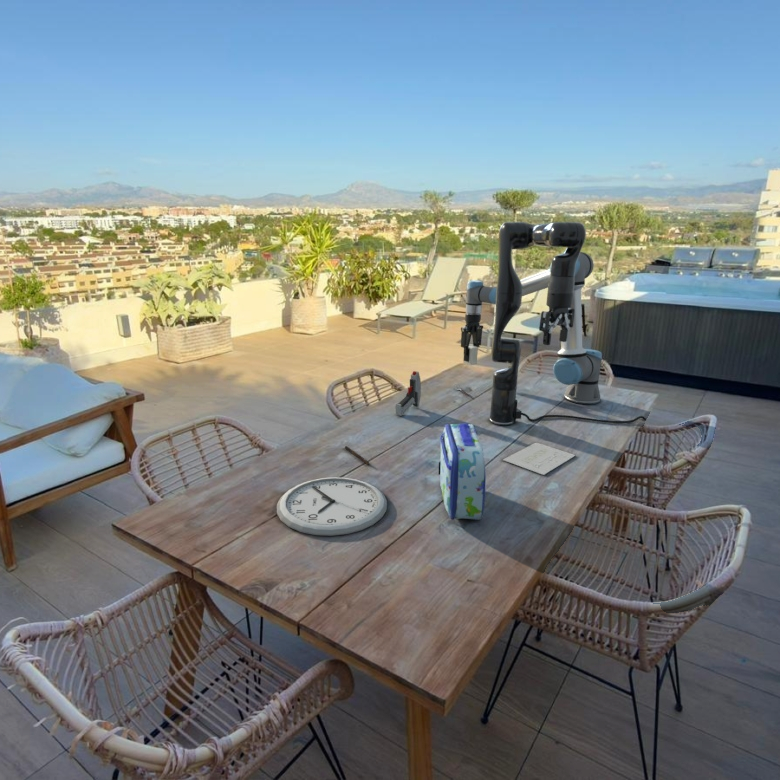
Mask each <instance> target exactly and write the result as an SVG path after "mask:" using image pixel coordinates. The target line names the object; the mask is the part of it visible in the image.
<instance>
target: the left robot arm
mask: <svg viewBox="0 0 780 780" xmlns="http://www.w3.org/2000/svg"><path fill="white" fill-rule="evenodd" d="M586 237H587V231H586V227H585V225H584V224H583V223H581V222H578V221H577V222H576V221H575V222H574V221H556V222H547V223H540V224H537V225H535V224H532V223H529V222H525V221H508V222H503V223H502V225H501V226H500V228H499V230H498V242H497V243H498V245H497V246H498V266H497V267H498V269H497V283H496V287H497V291H496V305H495V310H494V311H495V313H494V325H493V335H492V339H491V340H492V341H491V348H490V350H491V351H490V356H491V357H490V358H491V361H492V362H494V363H499V364H509V365H508V366H507V367H504V368H501V369H497V370H495V371H494V372H493V374H492V388H491V399H490V410H489V411H490V413H489V414H490V415H489V422H490V423H491V424H494V425H497V426H511V425H513V424H516V423H517V420H521V419H522V416H523V417H525V418H526V419H527V420H528V421H529V422H537V421H539V420H542V419H544V418H567V419H575V420H583V421H590V422H591V421H592V422H597V423H607V424H630V423H634V422H636V421H638V420H640V419H643V420H644V421H647V418H646V417H645V416H643V415H639V416H637V417H635V418H633V419H629V420H607V419H598V418H592V417H591V418H590V417H583V416H575V415H567V414H566V415H565V414H545V415H540V416H539V417H537V418H534V419H533V418H531V417H530V416H529V415H528V414H527V413H524V412H522V410H521V409H519V408H518V399H517V388H518V377H519V376H518V375H519V366H520V359H521V353H522V352H521V351H522V343H521V341H520V340H519V339H515V338H502V335H503V333H504V331H505V329H506V327H507V325H508V324H509V323H510V322H511V320H512V319H513V318H514V316H515V315H516V314H517V312H518V311H519V309H520V308H521V306H522V301H523V300H522V299H523V296H522V284H521V281H520V280H521V279H520V277H519V276H518V274H517V271H516V270H515V268H514V265H513V259H512V251H513V250H524V249H528V248H530V247H533V246H537V247H547V248H548V247H551V248H552V247H555V248H566V249H565V251H564V252H563V253H560V254H561V255H560V254H558V255H555V256H553V257H552V259H551V263H552V264H551V263H550V265H551V274H550V279H549V284H548V288H547V293H546V294H547V296H546V306H547V307H548V310H547V311H546V310H545V311H544V310H542V311H541V313H540V318H539V319H540V320H539V325H538V326H539V327H538V331H539V332H542V333H543V336H542V344H543V345H544V346H550V345H551V341H552V332H553V331H554V328H556V327H557V326H558V325H559V328H560V327H561V330H560V329H559V331H560V332H559V338H558V340H559V342H561V341H562V342H566V341H567V335H568V330H569V329H570V327H571V328H572V327H573V322H574V311H575V310H574V309H571V308H570V307H571V306H572V301H573V292H574V276H575V268H576V262H577V259H578V257H579V254H580V252H582V248H583V246H584V244H585V241H586ZM569 320H570V323H569Z"/></svg>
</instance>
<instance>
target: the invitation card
mask: <svg viewBox="0 0 780 780" xmlns="http://www.w3.org/2000/svg"><path fill="white" fill-rule="evenodd" d="M576 456H577V455H576V454H573V453H570V452H567V451H565V450H561V449H558V448H555V447H552V446H549V445H546V444H543V443H539V442H534V443H532V444H529V445H528V446H526V447H524V448H522V449H520V450H518V451H516V452H514V453H512V454H510V455H509V456H507V457H505V458H503V459H502V461H503V462H506V463H509V464H511V465H514V466H518V467H520V468H523V469H525V470H528V471H531V472H534V473H536V474H539V475H541V476H545V475H547V474H548V473H550V472H552V471H554V469H556V468H558V467H559V466H561V465H563V464H564V463H566V462H568V461H570V460H571V459H572V458H574V457H576Z"/></svg>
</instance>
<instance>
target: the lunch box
mask: <svg viewBox="0 0 780 780" xmlns="http://www.w3.org/2000/svg"><path fill="white" fill-rule="evenodd" d="M439 439H440V458H439V459H440V461H438V475H440V480H439V481H440V482H439V484H440V485H439V486H440V489H441V494H442V500H443V504H444V509H445V511H446V513H447V515H448V517H449V518H450V519H451V520H455V519H456V520H458V519H459V520H460V519H463V520H464V519H465V520H476V521H477V520H480V521H481V520H482V518H483V516H484V511H485V502H486V501H485V499H486V463H485V458H484V450H483V447H482V444H481V442H480V439H479V437H478V434H477V431H476V428H475V425H474V424H473V423H471V424H470V423H468V422H467V423H458V424H455V423H453V424H451V423H447V424H444V427H443V432H442V434H441V435H440V438H439Z"/></svg>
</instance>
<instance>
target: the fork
mask: <svg viewBox="0 0 780 780" xmlns="http://www.w3.org/2000/svg"><path fill="white" fill-rule="evenodd" d="M453 385H454V388H455V390H456V391H461V392H462V394H464V395H465V396H467V397H470V395H469V394H468V393H467V392H466V391H464V390H462V388H461V386H460V384H459V383H454V384H453Z"/></svg>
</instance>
